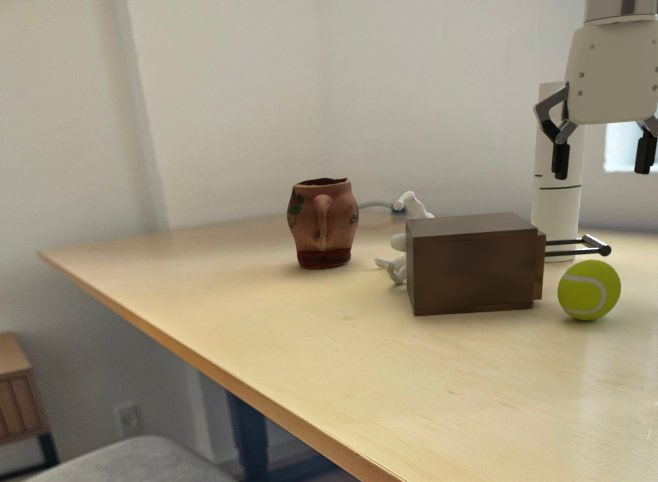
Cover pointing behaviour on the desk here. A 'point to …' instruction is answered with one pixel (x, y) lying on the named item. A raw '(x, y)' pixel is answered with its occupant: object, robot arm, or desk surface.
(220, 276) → the desk surface
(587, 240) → the drawer
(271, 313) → the desk surface
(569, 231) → the cylindrical container
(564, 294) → the tennis ball
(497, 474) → the desk surface
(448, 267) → the cabinet
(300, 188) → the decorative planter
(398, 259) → the person figurine
